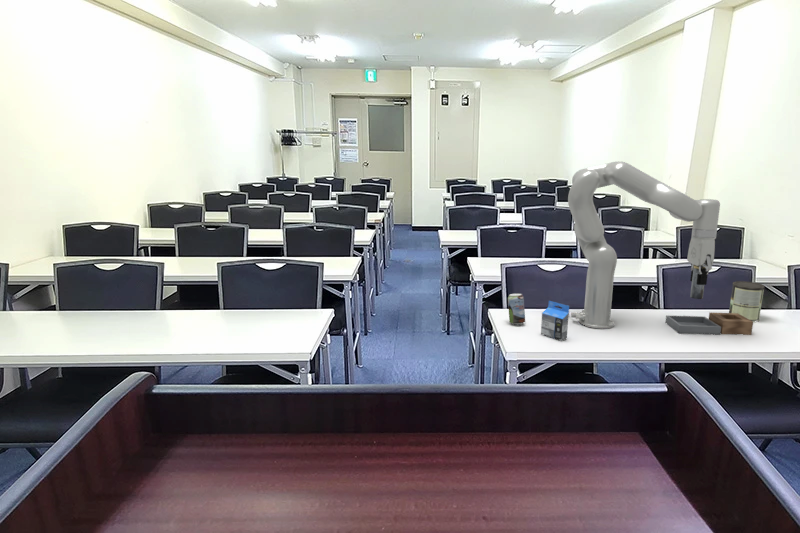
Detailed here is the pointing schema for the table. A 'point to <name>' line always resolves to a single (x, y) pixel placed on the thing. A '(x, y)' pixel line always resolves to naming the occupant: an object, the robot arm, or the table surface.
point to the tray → (693, 325)
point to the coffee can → (747, 299)
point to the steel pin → (696, 289)
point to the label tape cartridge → (555, 321)
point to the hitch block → (732, 323)
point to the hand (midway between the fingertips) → (698, 282)
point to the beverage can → (516, 309)
